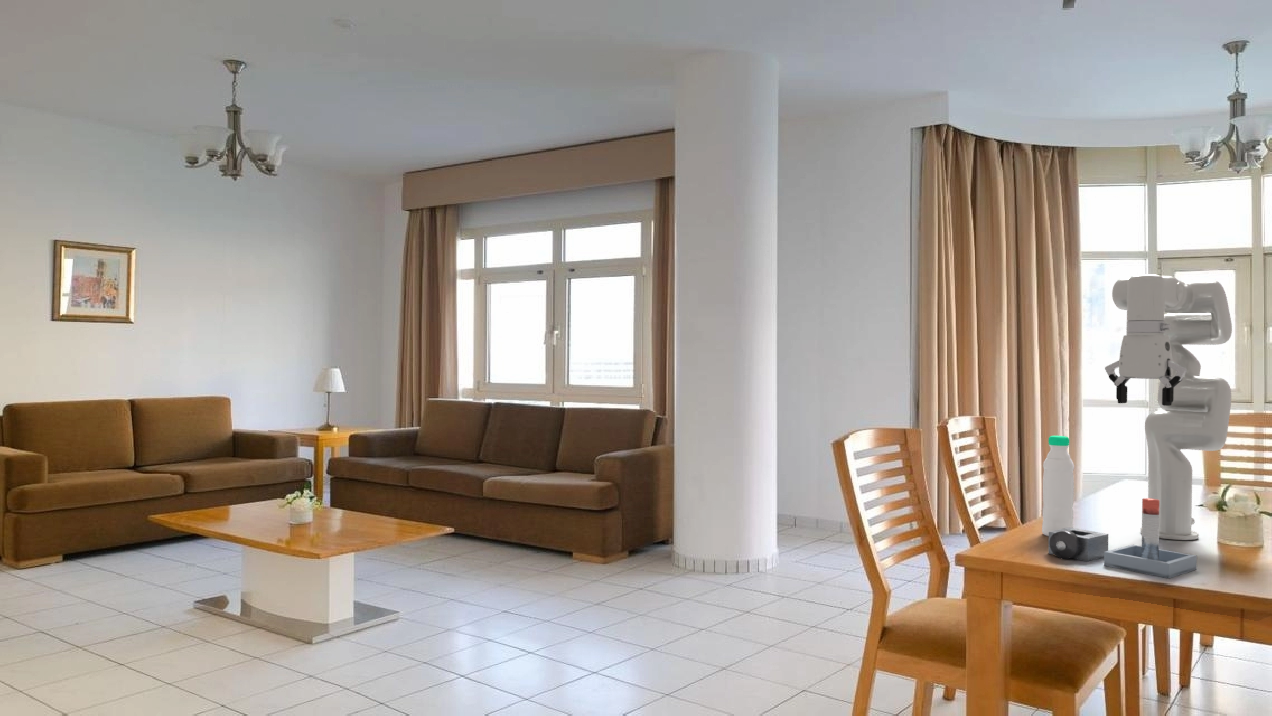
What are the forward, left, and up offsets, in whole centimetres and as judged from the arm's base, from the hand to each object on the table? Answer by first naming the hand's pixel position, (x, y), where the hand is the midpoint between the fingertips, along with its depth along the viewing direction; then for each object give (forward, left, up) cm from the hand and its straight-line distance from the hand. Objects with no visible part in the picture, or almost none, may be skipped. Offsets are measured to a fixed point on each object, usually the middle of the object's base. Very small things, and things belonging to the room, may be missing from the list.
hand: (1144, 404), depth 204 cm
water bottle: (-4, -22, -34) cm, 41 cm away
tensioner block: (+15, -8, -34) cm, 38 cm away
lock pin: (+12, +7, -34) cm, 36 cm away
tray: (+12, +7, -34) cm, 37 cm away
